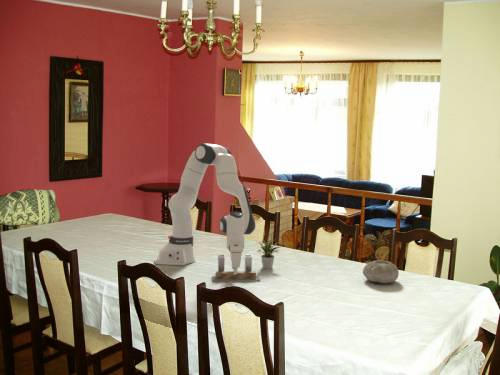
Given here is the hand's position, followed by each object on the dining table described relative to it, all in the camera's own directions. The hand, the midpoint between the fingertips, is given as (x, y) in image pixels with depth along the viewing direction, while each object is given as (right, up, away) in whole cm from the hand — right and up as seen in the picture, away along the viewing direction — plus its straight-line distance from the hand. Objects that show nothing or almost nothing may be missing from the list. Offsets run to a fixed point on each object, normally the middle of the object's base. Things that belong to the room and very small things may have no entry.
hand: (234, 271), depth 301 cm
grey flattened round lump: (+74, -6, +2) cm, 74 cm away
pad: (+1, -4, +1) cm, 4 cm away
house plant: (+16, -1, +22) cm, 28 cm away
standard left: (-7, -3, +8) cm, 11 cm away
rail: (+1, -4, +1) cm, 4 cm away
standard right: (+7, -3, +9) cm, 12 cm away
